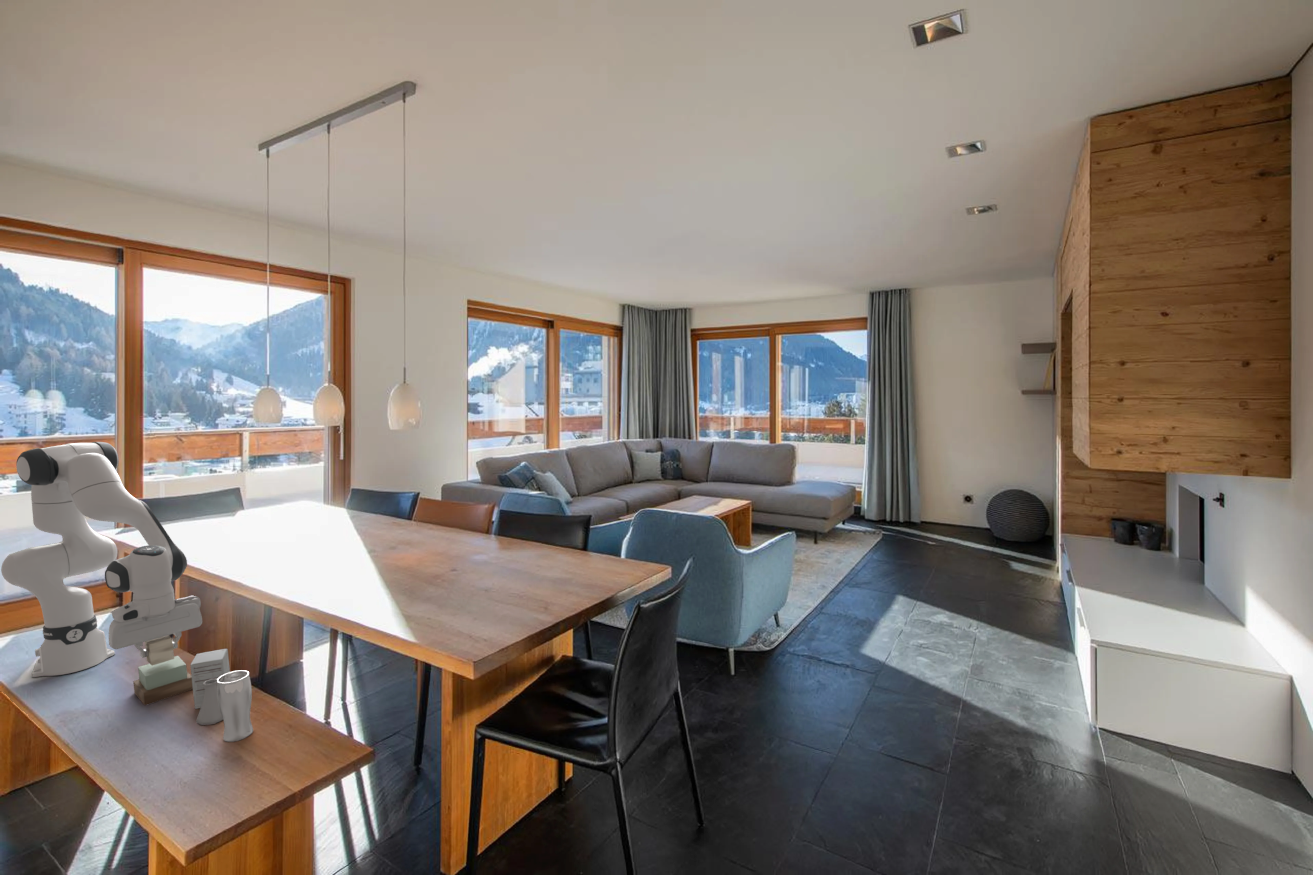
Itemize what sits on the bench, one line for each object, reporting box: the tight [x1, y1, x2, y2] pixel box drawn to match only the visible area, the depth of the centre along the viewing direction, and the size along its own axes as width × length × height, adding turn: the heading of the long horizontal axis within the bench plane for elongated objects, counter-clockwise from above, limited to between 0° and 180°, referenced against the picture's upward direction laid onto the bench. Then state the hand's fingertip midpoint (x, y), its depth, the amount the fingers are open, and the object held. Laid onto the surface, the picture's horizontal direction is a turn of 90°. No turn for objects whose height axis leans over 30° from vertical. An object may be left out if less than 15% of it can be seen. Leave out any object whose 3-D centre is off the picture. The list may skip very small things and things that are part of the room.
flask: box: [195, 679, 223, 726], centre depth 158 cm, size 7×7×10 cm
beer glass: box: [217, 669, 254, 743], centre depth 149 cm, size 7×7×15 cm
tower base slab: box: [132, 671, 193, 706], centre depth 173 cm, size 11×11×4 cm
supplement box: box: [190, 648, 231, 710], centre depth 167 cm, size 7×7×13 cm
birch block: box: [144, 635, 175, 665], centre depth 171 cm, size 5×5×6 cm
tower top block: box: [137, 655, 188, 690], centre depth 172 cm, size 9×9×4 cm
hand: (159, 652), depth 171 cm, fingers closed on birch block, 5 cm apart
